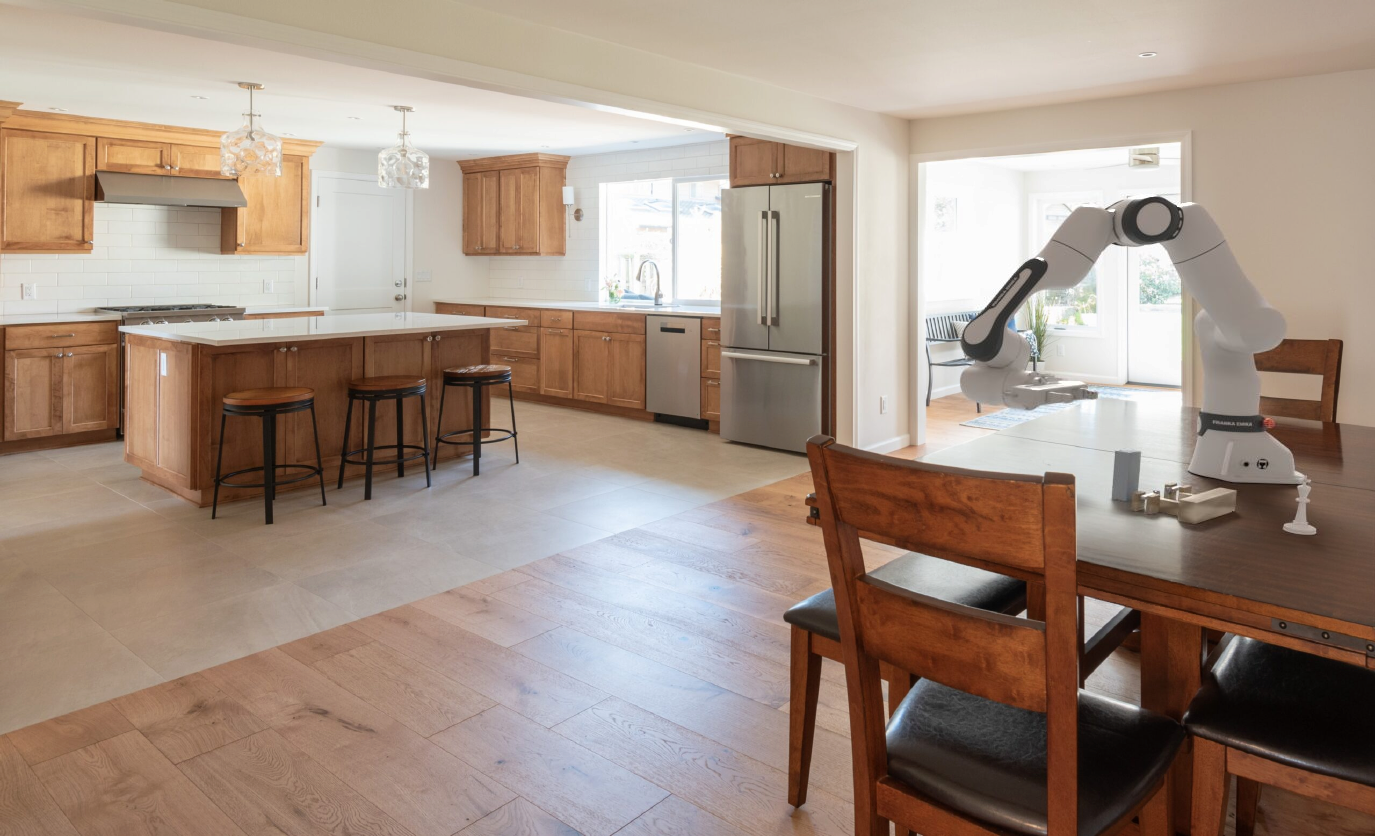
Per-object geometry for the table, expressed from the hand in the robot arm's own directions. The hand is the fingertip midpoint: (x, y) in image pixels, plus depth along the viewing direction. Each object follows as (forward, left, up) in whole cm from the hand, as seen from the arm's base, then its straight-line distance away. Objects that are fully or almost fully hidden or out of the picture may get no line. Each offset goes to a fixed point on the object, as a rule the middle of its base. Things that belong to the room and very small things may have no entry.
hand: (1084, 397), depth 186 cm
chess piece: (-34, +23, -20) cm, 46 cm away
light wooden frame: (-17, +14, -19) cm, 30 cm away
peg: (-8, +8, -19) cm, 23 cm away
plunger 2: (-17, +9, -17) cm, 26 cm away
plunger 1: (-12, +16, -17) cm, 26 cm away
